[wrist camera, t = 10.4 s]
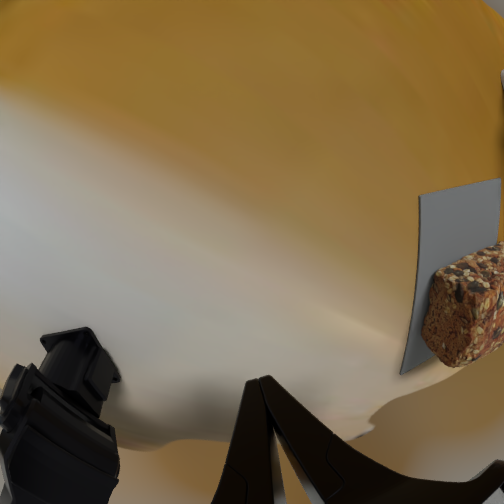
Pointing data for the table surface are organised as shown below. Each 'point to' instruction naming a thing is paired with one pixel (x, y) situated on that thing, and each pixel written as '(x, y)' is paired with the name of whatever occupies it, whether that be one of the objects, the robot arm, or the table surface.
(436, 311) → the bread
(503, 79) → the house plant
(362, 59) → the table surface
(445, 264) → the serving mat
